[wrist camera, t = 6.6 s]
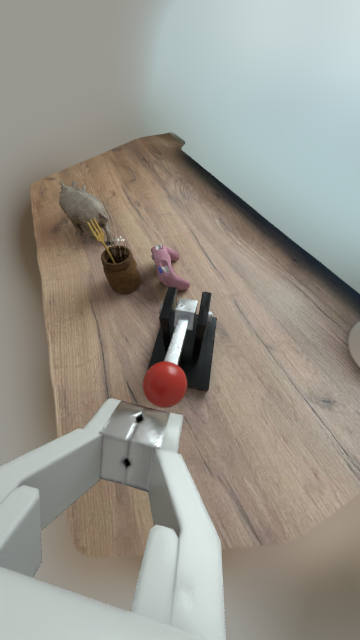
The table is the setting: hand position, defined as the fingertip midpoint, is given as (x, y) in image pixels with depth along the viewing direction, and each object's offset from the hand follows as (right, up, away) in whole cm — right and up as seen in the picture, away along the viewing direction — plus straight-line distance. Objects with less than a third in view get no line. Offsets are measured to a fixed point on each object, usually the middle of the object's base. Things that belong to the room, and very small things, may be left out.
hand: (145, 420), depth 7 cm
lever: (+1, +1, +11) cm, 11 cm away
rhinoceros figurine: (-20, +26, +40) cm, 52 cm away
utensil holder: (-9, +11, +31) cm, 34 cm away
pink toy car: (-1, +13, +32) cm, 34 cm away
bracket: (+2, -1, +23) cm, 23 cm away
